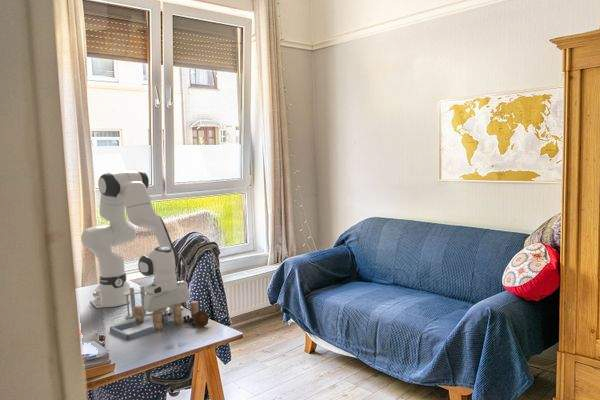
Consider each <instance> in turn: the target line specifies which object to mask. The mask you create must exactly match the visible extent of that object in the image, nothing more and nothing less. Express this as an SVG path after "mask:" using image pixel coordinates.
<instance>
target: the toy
mask: <svg viewBox="0 0 600 400" xmlns="http://www.w3.org/2000/svg"><path fill="white" fill-rule="evenodd" d="M198 310H199V311H198V312H196V313H195V314H194V317H192V318H191V316H190V315H189V314H188V315H185V316H182V320H181V321H182V323H183V324H191V323H194V325H195V327H197V328H199V329H200V328H201V327H203V328H205V327H206V326H207V325H208V324H209V319H210V316H209V314H208V313H207V311H205V310H201V309H198ZM204 326H205V327H204ZM201 329H202V328H201Z"/></svg>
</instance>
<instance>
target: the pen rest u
mask: <svg viewBox="0 0 600 400" xmlns="http://www.w3.org/2000/svg"><path fill="white" fill-rule="evenodd" d="M134 325H135V326H137V325H138V324H137V322H136V320H135V319H133V320H129V321H126V322H123V323H120V324H116V325H112V326H110V327H109V332H110V333H111V334H113V335H115V336H118V337H119V338H122V339H124V340H125V341H129V340H133V339H137V338H139V337H142V336H146V335H148V334H152V333H154V326H150V327H146V328H143V329H139V330H137V331H133V332H131V333H126V332H125V331H122V330H124V329H128V328H131V327H133V326H134Z"/></svg>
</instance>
